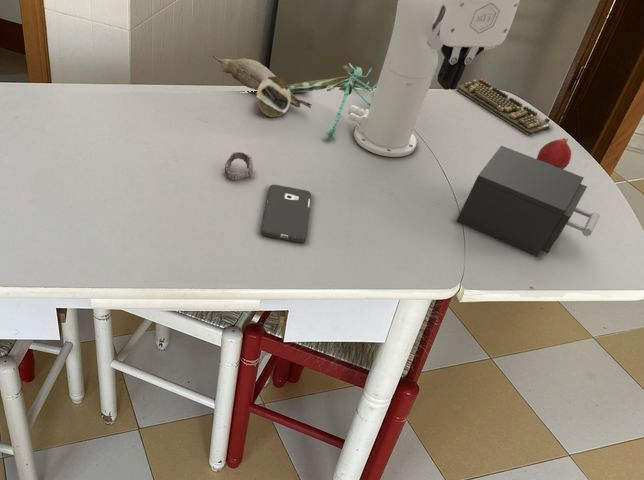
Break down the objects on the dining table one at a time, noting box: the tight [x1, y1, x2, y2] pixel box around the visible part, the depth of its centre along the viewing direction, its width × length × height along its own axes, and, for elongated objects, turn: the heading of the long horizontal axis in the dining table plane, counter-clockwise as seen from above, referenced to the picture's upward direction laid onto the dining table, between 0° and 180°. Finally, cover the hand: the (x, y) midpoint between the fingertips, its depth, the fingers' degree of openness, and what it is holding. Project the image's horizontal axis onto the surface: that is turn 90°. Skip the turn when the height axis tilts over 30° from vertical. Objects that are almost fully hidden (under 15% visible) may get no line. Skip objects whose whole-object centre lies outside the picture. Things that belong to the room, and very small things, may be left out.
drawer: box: [540, 183, 601, 255], centre depth 120 cm, size 18×12×8 cm, turn 54°
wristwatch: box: [224, 151, 254, 181], centre depth 127 cm, size 4×6×5 cm
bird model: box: [212, 55, 313, 109], centre depth 149 cm, size 29×6×5 cm, turn 44°
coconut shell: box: [254, 76, 291, 118], centre depth 144 cm, size 8×8×6 cm
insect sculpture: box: [287, 62, 382, 141], centre depth 148 cm, size 6×20×30 cm
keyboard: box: [455, 78, 551, 136], centre depth 154 cm, size 22×9×2 cm, turn 30°
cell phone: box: [260, 184, 312, 244], centre depth 121 cm, size 8×15×1 cm, turn 169°
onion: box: [536, 137, 572, 170], centre depth 134 cm, size 6×6×8 cm
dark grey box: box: [456, 145, 585, 258], centre depth 121 cm, size 15×13×10 cm
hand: (445, 85), depth 106 cm, fingers closed
